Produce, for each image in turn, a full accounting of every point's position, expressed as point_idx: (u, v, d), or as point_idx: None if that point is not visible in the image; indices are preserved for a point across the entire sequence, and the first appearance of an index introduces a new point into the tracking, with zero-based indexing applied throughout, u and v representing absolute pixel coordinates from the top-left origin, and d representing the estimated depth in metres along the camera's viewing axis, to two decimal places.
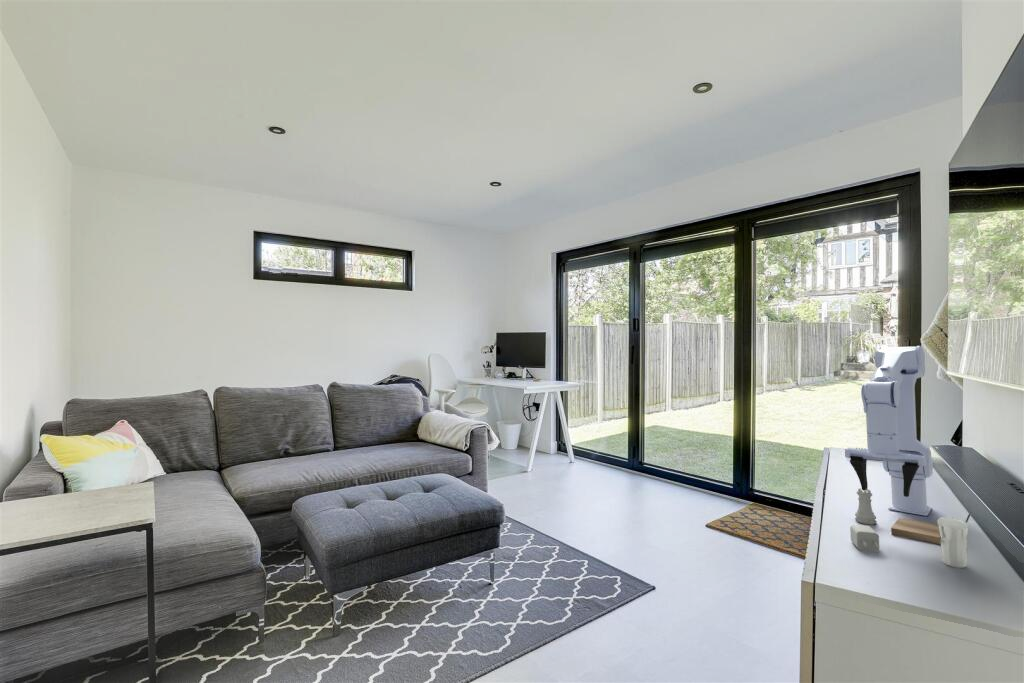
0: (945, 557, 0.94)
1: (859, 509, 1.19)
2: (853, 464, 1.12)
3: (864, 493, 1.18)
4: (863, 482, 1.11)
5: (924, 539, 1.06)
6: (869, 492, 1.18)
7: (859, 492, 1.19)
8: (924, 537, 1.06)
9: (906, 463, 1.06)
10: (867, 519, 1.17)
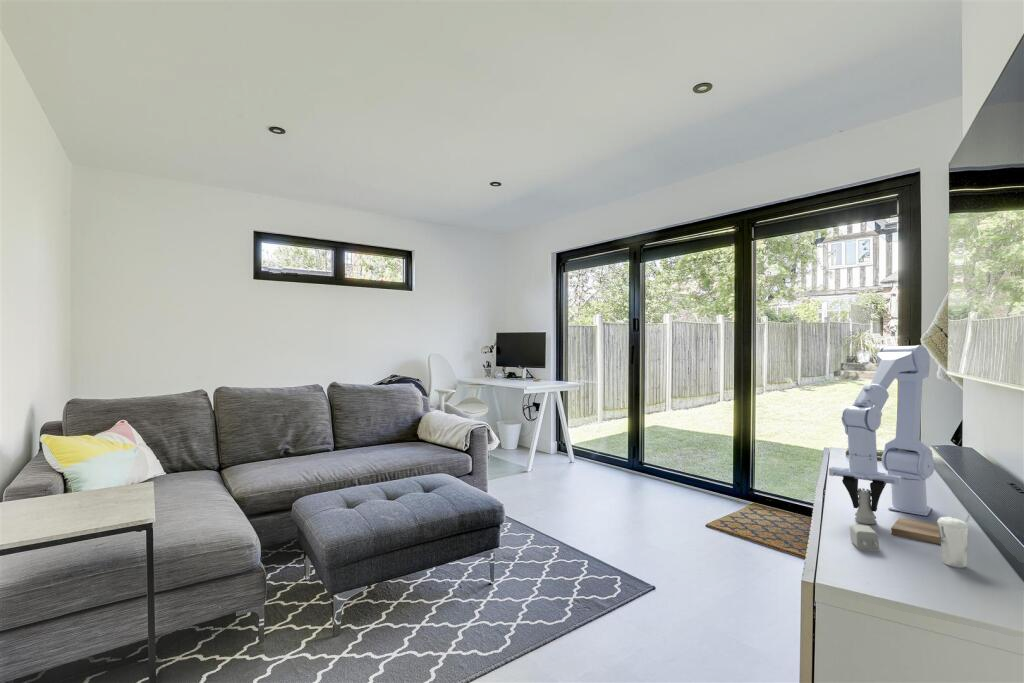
0: (945, 557, 0.94)
1: (859, 509, 1.19)
2: (845, 484, 1.20)
3: (864, 493, 1.18)
4: (854, 501, 1.19)
5: (924, 539, 1.06)
6: (869, 492, 1.18)
7: (859, 492, 1.19)
8: (924, 537, 1.06)
9: (874, 481, 1.17)
10: (867, 519, 1.17)
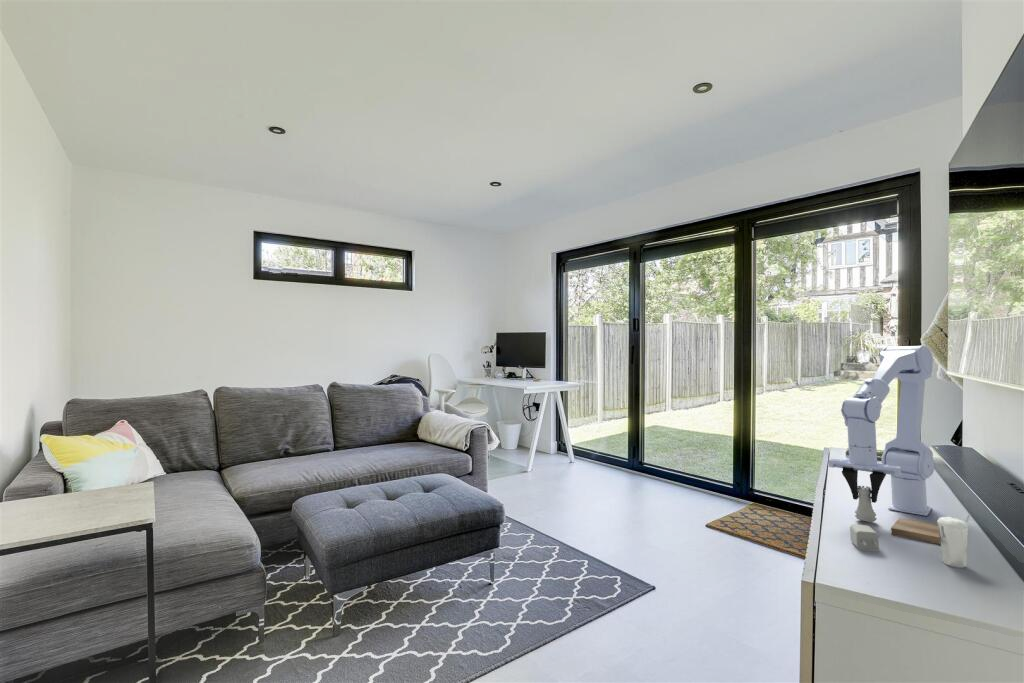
0: (945, 557, 0.94)
1: (859, 506, 1.19)
2: (845, 475, 1.20)
3: (864, 490, 1.18)
4: (854, 492, 1.19)
5: (924, 539, 1.06)
6: (869, 489, 1.18)
7: (859, 489, 1.19)
8: (924, 537, 1.06)
9: (874, 472, 1.17)
10: (868, 516, 1.17)
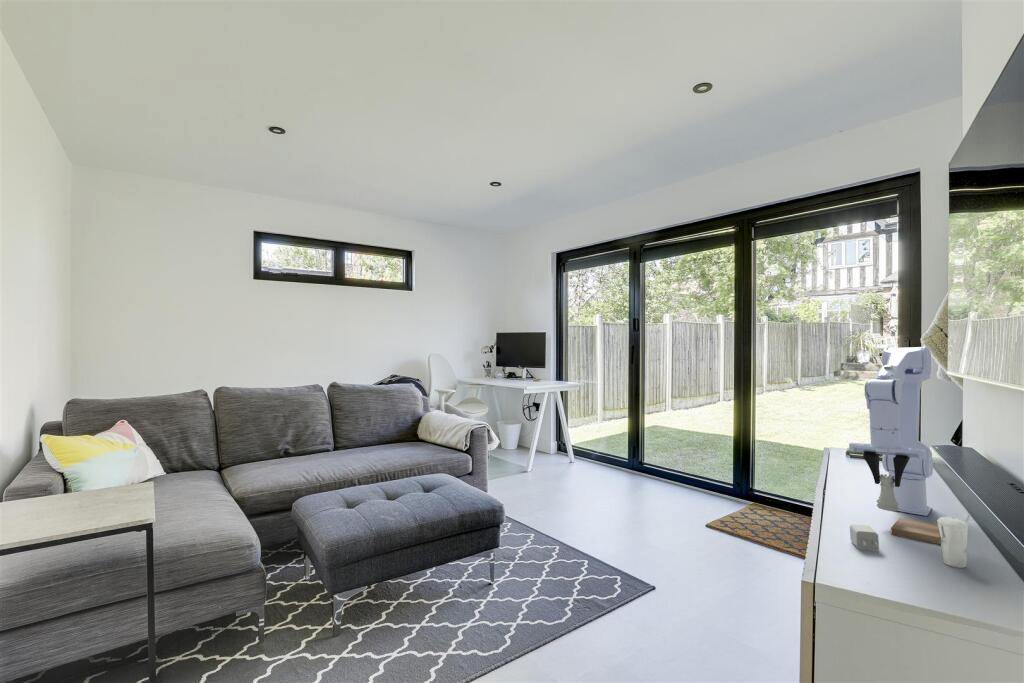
0: (945, 557, 0.94)
1: (881, 495, 1.15)
2: (866, 459, 1.16)
3: (887, 479, 1.14)
4: (876, 476, 1.16)
5: (924, 539, 1.06)
6: (892, 478, 1.14)
7: (882, 478, 1.15)
8: (924, 537, 1.06)
9: (897, 455, 1.13)
10: (890, 505, 1.13)
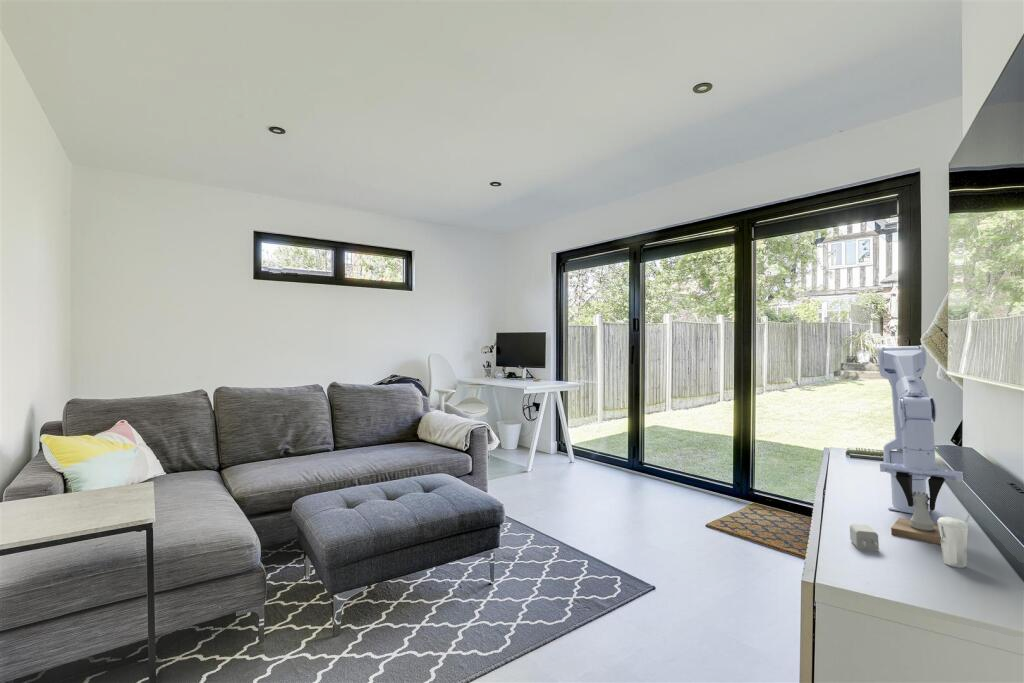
0: (945, 557, 0.94)
1: (915, 514, 1.10)
2: (899, 480, 1.11)
3: (921, 497, 1.09)
4: (910, 498, 1.11)
5: (924, 539, 1.06)
6: (927, 496, 1.09)
7: (915, 496, 1.10)
8: (924, 537, 1.06)
9: (932, 477, 1.08)
10: (925, 525, 1.08)
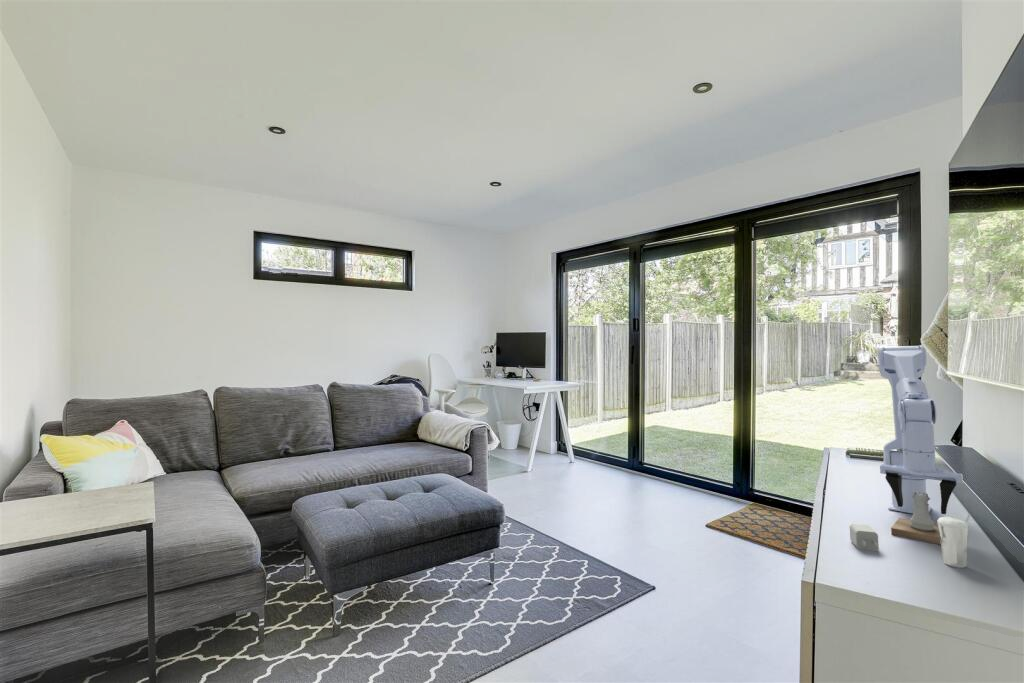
0: (945, 557, 0.94)
1: (915, 514, 1.10)
2: (889, 481, 1.13)
3: (921, 497, 1.09)
4: (899, 499, 1.12)
5: (924, 539, 1.06)
6: (927, 496, 1.09)
7: (915, 496, 1.10)
8: (924, 537, 1.06)
9: (943, 481, 1.07)
10: (925, 525, 1.08)
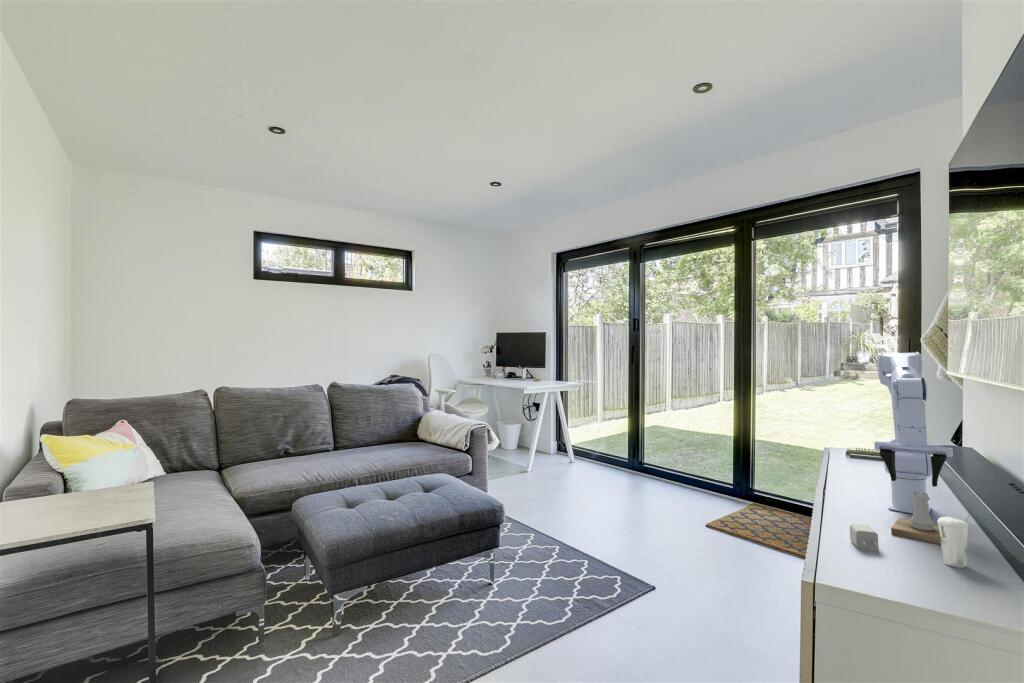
0: (945, 557, 0.94)
1: (915, 514, 1.10)
2: (883, 456, 1.18)
3: (921, 497, 1.09)
4: (892, 473, 1.17)
5: (924, 539, 1.06)
6: (927, 496, 1.09)
7: (915, 496, 1.10)
8: (924, 537, 1.06)
9: (934, 455, 1.12)
10: (925, 525, 1.08)
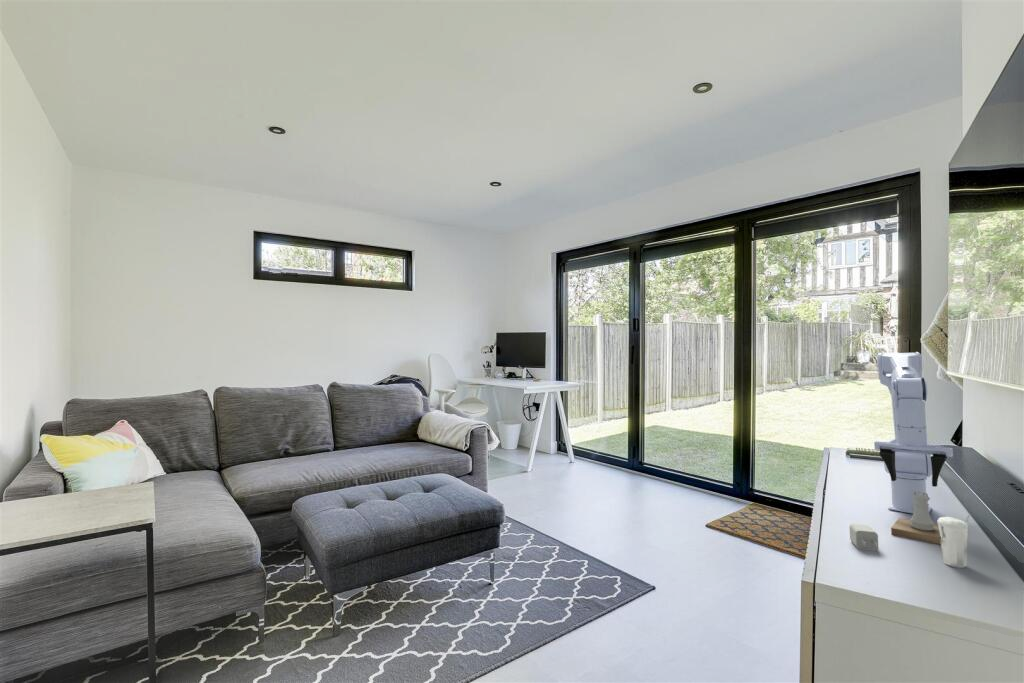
0: (945, 557, 0.94)
1: (915, 514, 1.10)
2: (883, 456, 1.18)
3: (921, 497, 1.09)
4: (892, 473, 1.17)
5: (924, 539, 1.06)
6: (927, 496, 1.09)
7: (915, 496, 1.10)
8: (924, 537, 1.06)
9: (934, 455, 1.12)
10: (925, 525, 1.08)
